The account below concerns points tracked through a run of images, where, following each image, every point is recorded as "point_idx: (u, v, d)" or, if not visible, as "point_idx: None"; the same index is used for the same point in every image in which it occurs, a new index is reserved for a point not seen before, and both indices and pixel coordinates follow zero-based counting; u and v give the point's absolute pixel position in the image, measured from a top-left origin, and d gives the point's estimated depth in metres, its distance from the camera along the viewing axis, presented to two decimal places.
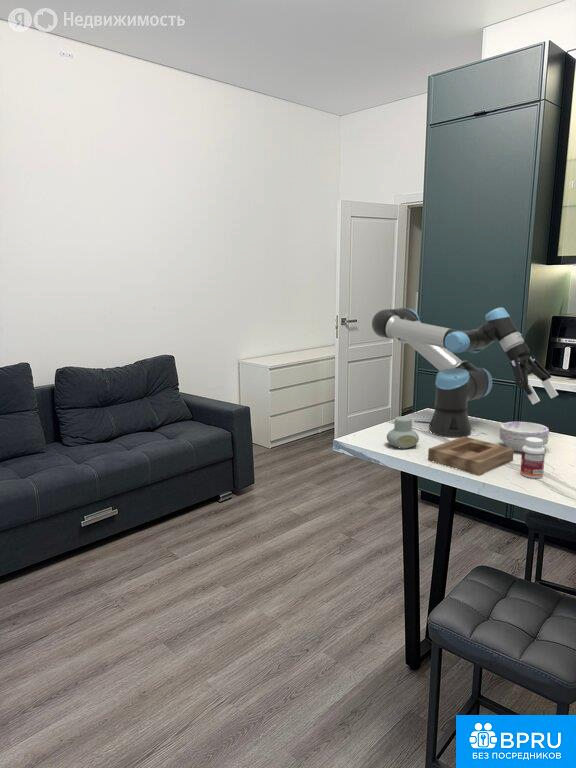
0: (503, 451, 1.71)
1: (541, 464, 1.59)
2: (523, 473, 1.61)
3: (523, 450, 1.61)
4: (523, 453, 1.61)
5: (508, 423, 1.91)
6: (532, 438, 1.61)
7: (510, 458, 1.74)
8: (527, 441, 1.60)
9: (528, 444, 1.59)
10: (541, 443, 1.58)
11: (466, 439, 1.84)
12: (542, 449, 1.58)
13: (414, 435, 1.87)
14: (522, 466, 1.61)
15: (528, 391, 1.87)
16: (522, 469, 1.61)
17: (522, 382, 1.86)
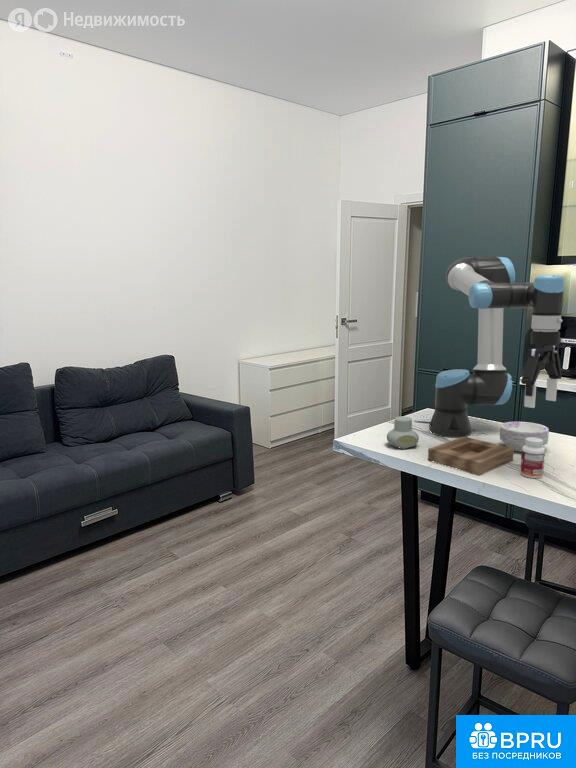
0: (503, 451, 1.71)
1: (541, 464, 1.59)
2: (523, 473, 1.61)
3: (523, 450, 1.61)
4: (523, 453, 1.61)
5: (508, 423, 1.91)
6: (532, 438, 1.61)
7: (510, 458, 1.74)
8: (527, 441, 1.60)
9: (528, 444, 1.59)
10: (541, 443, 1.58)
11: (466, 439, 1.84)
12: (542, 449, 1.58)
13: (414, 435, 1.87)
14: (522, 466, 1.61)
15: (529, 392, 1.53)
16: (522, 469, 1.61)
17: (529, 381, 1.50)
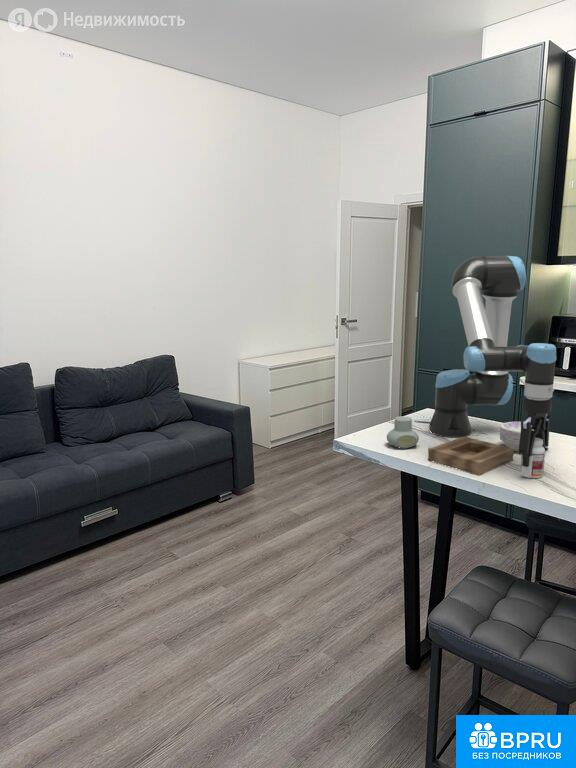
0: (503, 451, 1.71)
1: (541, 463, 1.59)
2: None
3: None
4: None
5: (508, 423, 1.91)
6: None
7: (510, 458, 1.74)
8: None
9: None
10: (541, 443, 1.58)
11: (466, 439, 1.84)
12: (542, 449, 1.58)
13: (414, 435, 1.87)
14: None
15: (525, 463, 1.58)
16: None
17: (525, 454, 1.56)
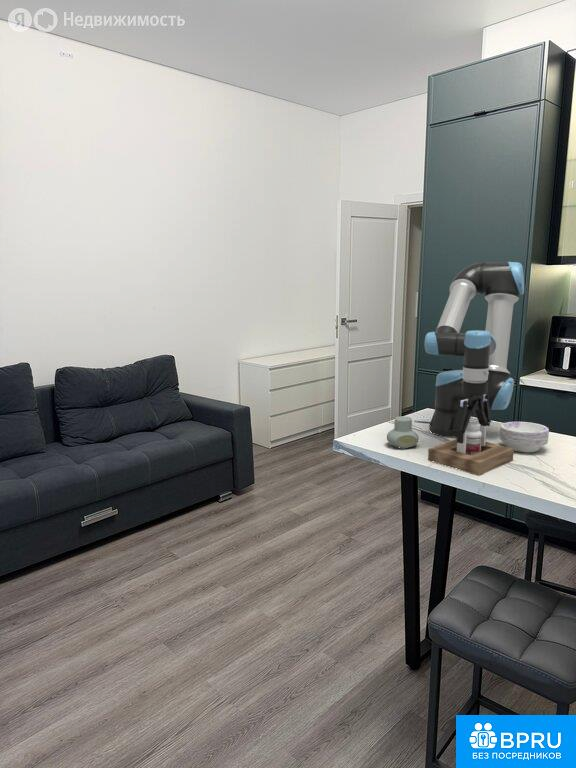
0: (503, 451, 1.71)
1: (478, 446, 1.71)
2: None
3: None
4: None
5: (508, 423, 1.91)
6: (470, 423, 1.74)
7: (510, 458, 1.74)
8: None
9: (466, 428, 1.72)
10: (478, 427, 1.71)
11: None
12: (479, 433, 1.71)
13: (414, 435, 1.87)
14: None
15: (460, 440, 1.69)
16: None
17: (459, 431, 1.67)
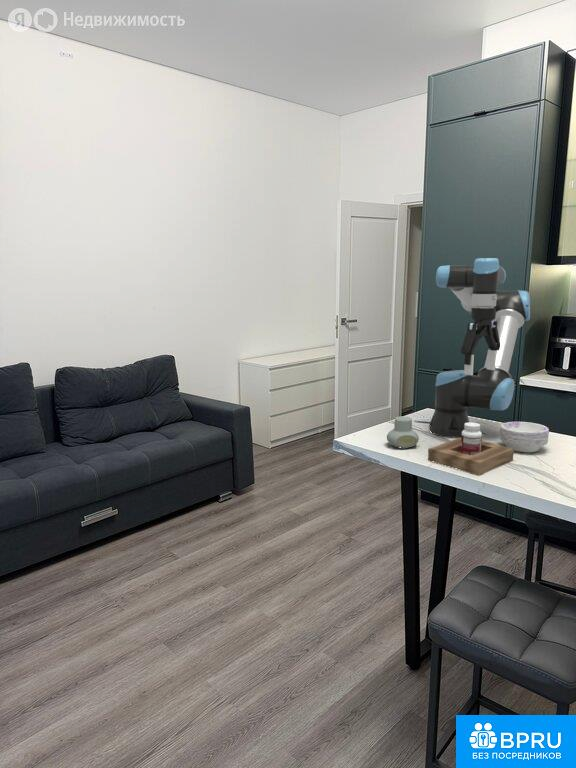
0: (503, 451, 1.71)
1: (478, 446, 1.71)
2: None
3: (462, 434, 1.73)
4: (462, 437, 1.73)
5: (508, 423, 1.91)
6: (470, 423, 1.74)
7: (510, 458, 1.74)
8: (465, 426, 1.72)
9: (466, 428, 1.72)
10: (478, 427, 1.71)
11: None
12: (479, 433, 1.71)
13: (414, 435, 1.87)
14: (461, 449, 1.74)
15: (467, 361, 1.74)
16: (461, 452, 1.74)
17: (466, 351, 1.72)
